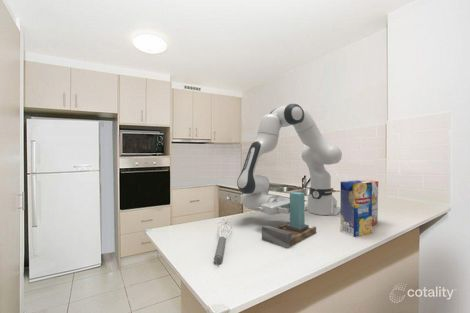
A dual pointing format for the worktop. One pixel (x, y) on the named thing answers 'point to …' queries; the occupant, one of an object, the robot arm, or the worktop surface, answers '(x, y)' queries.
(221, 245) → the kitchen whisk
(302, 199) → the teal block on base
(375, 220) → the cracker box
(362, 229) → the beverage box
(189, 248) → the worktop surface
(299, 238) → the track
